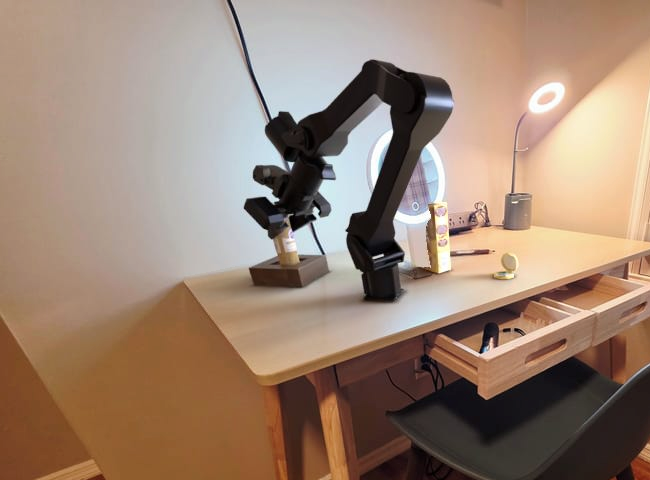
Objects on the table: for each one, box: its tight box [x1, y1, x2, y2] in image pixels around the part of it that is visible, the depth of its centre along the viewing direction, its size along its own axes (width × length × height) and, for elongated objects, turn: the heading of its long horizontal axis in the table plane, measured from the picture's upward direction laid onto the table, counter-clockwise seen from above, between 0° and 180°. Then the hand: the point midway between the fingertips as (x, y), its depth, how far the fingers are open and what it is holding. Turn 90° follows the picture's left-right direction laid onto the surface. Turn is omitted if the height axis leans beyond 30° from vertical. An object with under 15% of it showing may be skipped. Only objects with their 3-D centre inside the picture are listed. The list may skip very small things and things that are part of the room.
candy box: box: [422, 201, 451, 274], centre depth 88 cm, size 9×4×15 cm, turn 44°
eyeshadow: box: [493, 252, 519, 280], centre depth 84 cm, size 4×5×5 cm
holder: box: [248, 254, 330, 288], centre depth 86 cm, size 12×12×4 cm
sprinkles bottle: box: [270, 201, 300, 265], centre depth 82 cm, size 5×5×13 cm
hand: (278, 235), depth 83 cm, fingers closed on sprinkles bottle, 4 cm apart
